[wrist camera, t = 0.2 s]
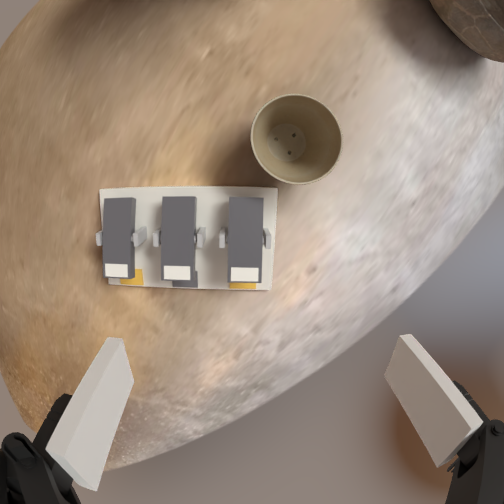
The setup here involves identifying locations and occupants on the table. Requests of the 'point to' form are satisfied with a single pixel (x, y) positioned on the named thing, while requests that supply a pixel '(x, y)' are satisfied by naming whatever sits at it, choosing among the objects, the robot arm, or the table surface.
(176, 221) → the rocker
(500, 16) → the bowl
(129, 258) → the rocker
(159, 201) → the switch unit
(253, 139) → the flower pot
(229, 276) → the rocker
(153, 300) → the table surface
